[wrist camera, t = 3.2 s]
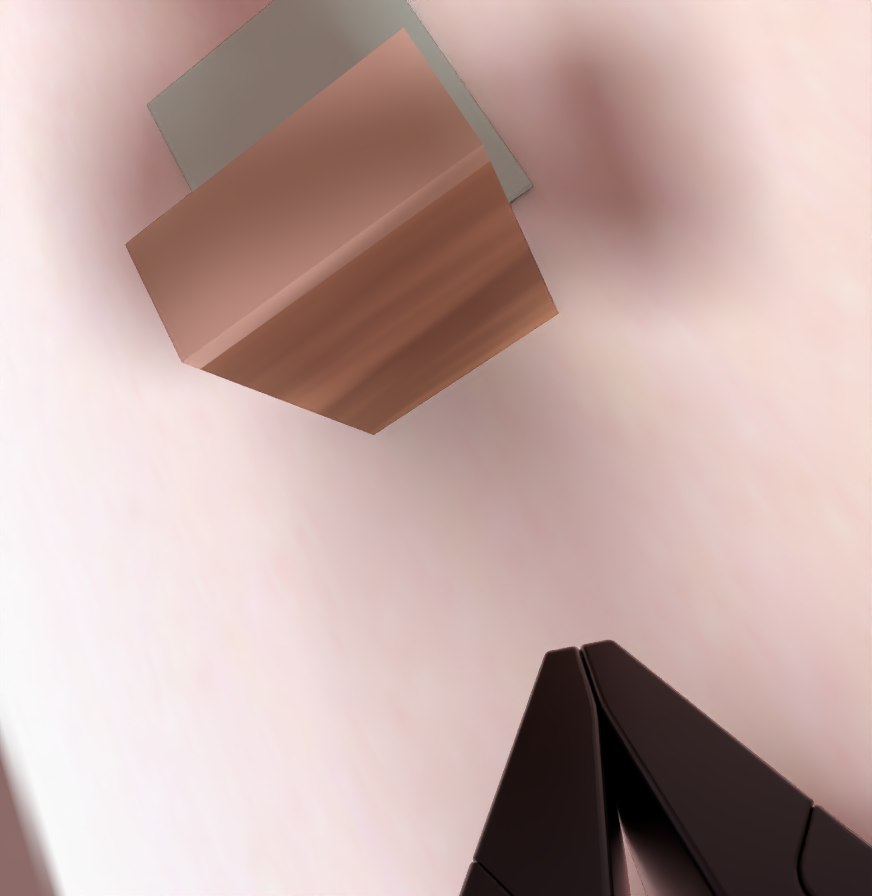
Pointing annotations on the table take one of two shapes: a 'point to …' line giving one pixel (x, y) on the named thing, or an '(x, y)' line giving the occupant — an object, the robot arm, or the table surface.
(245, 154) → the slab
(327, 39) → the mat
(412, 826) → the table surface
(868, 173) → the table surface
